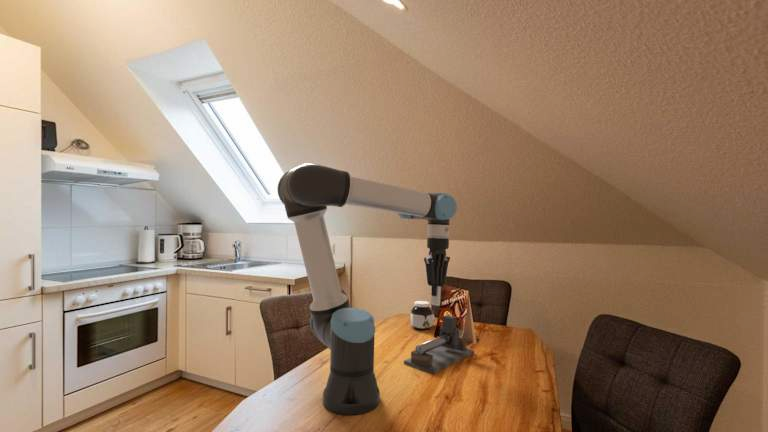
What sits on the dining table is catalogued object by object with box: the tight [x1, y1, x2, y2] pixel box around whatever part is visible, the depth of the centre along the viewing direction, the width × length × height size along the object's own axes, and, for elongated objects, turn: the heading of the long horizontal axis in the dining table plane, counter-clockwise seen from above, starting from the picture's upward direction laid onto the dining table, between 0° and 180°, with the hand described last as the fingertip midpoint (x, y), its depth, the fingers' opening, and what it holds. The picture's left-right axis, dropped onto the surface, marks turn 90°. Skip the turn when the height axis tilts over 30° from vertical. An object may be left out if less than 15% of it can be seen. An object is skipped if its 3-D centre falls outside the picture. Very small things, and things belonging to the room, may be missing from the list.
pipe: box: [415, 329, 463, 355], centre depth 130 cm, size 25×3×3 cm, turn 138°
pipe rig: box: [403, 337, 475, 375], centre depth 130 cm, size 26×12×4 cm, turn 138°
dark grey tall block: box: [439, 314, 460, 350], centre depth 134 cm, size 3×6×11 cm, turn 48°
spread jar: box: [410, 300, 436, 331], centre depth 167 cm, size 12×11×12 cm
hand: (435, 304), depth 128 cm, fingers closed
